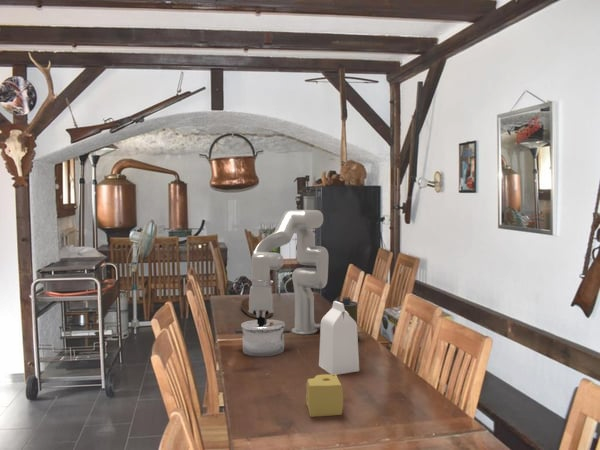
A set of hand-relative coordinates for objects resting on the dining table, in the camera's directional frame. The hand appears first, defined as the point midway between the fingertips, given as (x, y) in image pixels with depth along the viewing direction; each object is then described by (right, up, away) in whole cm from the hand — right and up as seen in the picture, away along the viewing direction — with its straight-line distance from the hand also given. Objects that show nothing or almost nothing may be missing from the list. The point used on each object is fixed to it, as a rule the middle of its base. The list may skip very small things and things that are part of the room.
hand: (261, 326), depth 229 cm
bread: (-8, -8, +81) cm, 81 cm away
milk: (+32, -13, -19) cm, 39 cm away
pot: (+1, -12, +6) cm, 13 cm away
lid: (+1, -1, +6) cm, 6 cm away
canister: (+38, -11, +21) cm, 45 cm away
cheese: (+24, -16, -58) cm, 65 cm away
